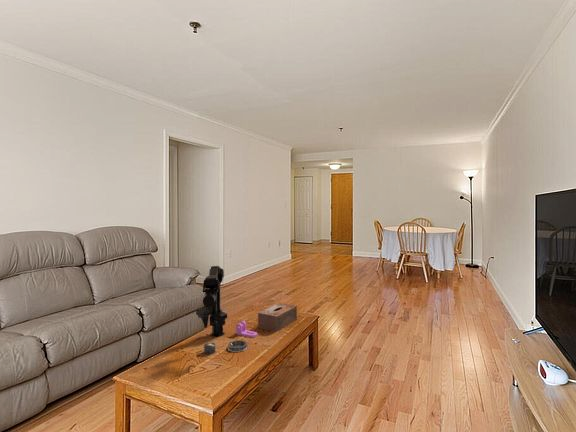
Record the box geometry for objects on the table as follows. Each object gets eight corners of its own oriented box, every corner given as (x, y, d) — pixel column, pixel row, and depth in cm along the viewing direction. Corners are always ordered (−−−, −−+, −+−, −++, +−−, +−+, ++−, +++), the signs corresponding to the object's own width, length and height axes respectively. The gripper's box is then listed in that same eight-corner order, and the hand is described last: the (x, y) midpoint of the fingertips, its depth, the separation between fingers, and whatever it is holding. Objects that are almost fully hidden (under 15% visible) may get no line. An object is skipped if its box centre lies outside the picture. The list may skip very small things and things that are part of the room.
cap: (201, 352, 179) (201, 345, 179) (210, 348, 184) (210, 341, 184) (209, 355, 176) (208, 347, 176) (217, 351, 180) (217, 344, 180)
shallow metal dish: (223, 348, 184) (223, 344, 184) (237, 341, 193) (237, 338, 193) (237, 353, 177) (237, 349, 177) (251, 346, 186) (251, 343, 186)
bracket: (236, 334, 205) (236, 323, 204) (241, 331, 210) (241, 320, 209) (254, 338, 199) (254, 326, 199) (259, 334, 204) (258, 323, 204)
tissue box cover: (279, 316, 238) (279, 302, 238) (296, 320, 231) (296, 305, 230) (258, 328, 216) (258, 312, 215) (277, 332, 208) (276, 316, 208)
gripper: (187, 301, 178) (188, 330, 178) (212, 307, 167) (212, 338, 168) (204, 297, 187) (204, 324, 188) (227, 302, 177) (228, 331, 177)
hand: (211, 329), depth 180 cm, fingers open, 9 cm apart
